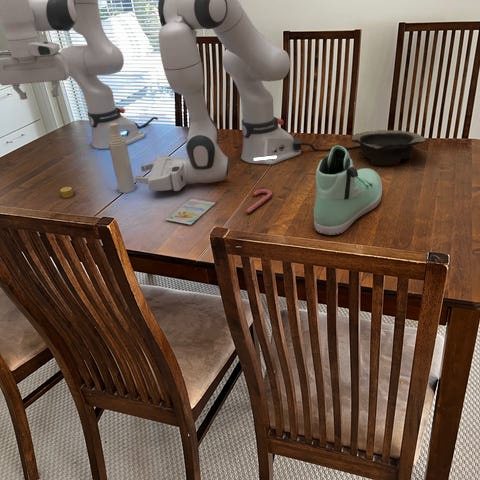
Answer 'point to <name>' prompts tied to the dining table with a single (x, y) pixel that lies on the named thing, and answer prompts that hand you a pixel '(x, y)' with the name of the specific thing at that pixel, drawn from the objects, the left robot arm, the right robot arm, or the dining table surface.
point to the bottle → (121, 160)
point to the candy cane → (261, 201)
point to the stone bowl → (387, 145)
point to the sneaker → (343, 192)
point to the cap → (66, 192)
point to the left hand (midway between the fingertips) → (40, 97)
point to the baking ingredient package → (190, 211)
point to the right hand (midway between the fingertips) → (138, 173)
